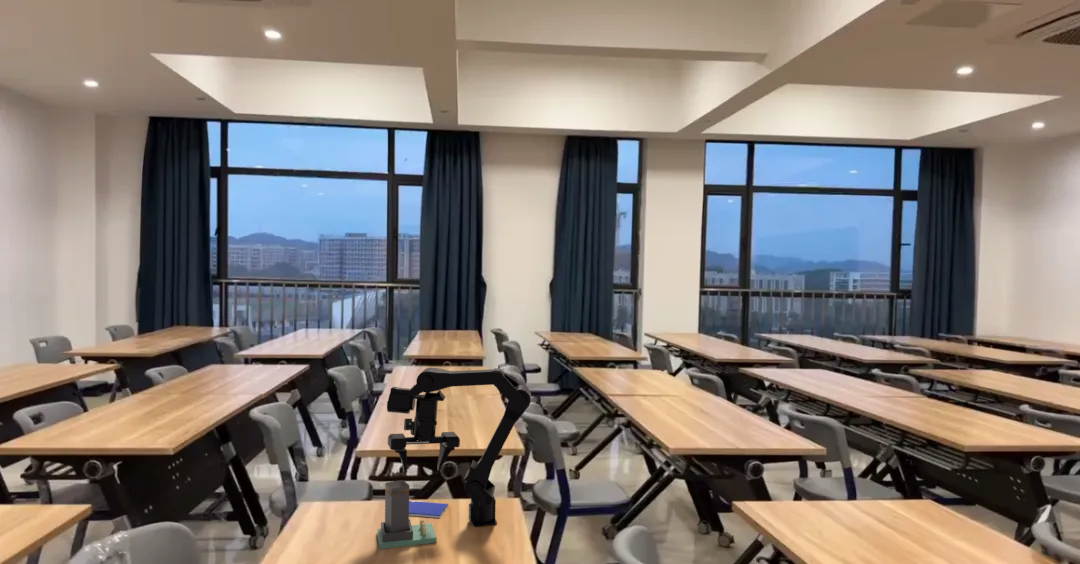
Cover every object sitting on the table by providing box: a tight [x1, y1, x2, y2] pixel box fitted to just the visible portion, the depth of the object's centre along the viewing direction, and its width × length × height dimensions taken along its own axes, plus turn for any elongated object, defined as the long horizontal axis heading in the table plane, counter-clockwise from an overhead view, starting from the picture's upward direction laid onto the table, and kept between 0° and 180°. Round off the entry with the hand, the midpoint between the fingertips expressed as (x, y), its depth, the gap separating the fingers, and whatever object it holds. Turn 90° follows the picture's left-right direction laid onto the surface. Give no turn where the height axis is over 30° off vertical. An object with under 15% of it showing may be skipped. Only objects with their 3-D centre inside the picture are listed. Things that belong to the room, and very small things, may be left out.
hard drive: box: [409, 500, 449, 519], centre depth 180 cm, size 2×8×12 cm
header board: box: [376, 518, 438, 550], centre depth 163 cm, size 14×9×3 cm, turn 108°
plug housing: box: [384, 479, 410, 533], centre depth 162 cm, size 5×5×13 cm
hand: (421, 471), depth 173 cm, fingers open, 9 cm apart
